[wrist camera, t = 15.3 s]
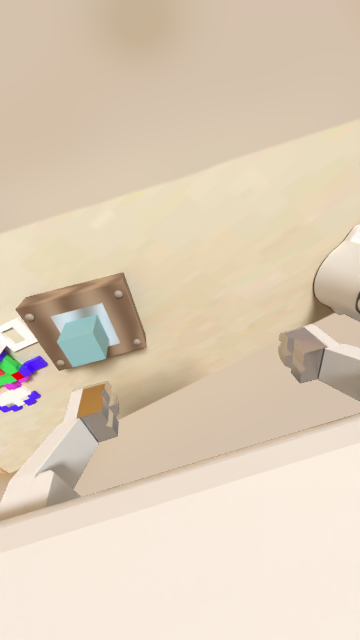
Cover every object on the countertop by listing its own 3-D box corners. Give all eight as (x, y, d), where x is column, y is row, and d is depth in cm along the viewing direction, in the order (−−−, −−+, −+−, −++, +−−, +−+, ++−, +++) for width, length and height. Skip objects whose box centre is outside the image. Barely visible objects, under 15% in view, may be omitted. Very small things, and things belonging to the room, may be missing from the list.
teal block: (97, 314, 35) (92, 332, 31) (108, 339, 38) (106, 358, 34) (65, 322, 35) (56, 342, 31) (79, 346, 38) (73, 367, 34)
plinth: (123, 272, 37) (122, 282, 33) (145, 334, 44) (146, 347, 41) (26, 297, 36) (14, 310, 33) (64, 356, 43) (58, 371, 40)
